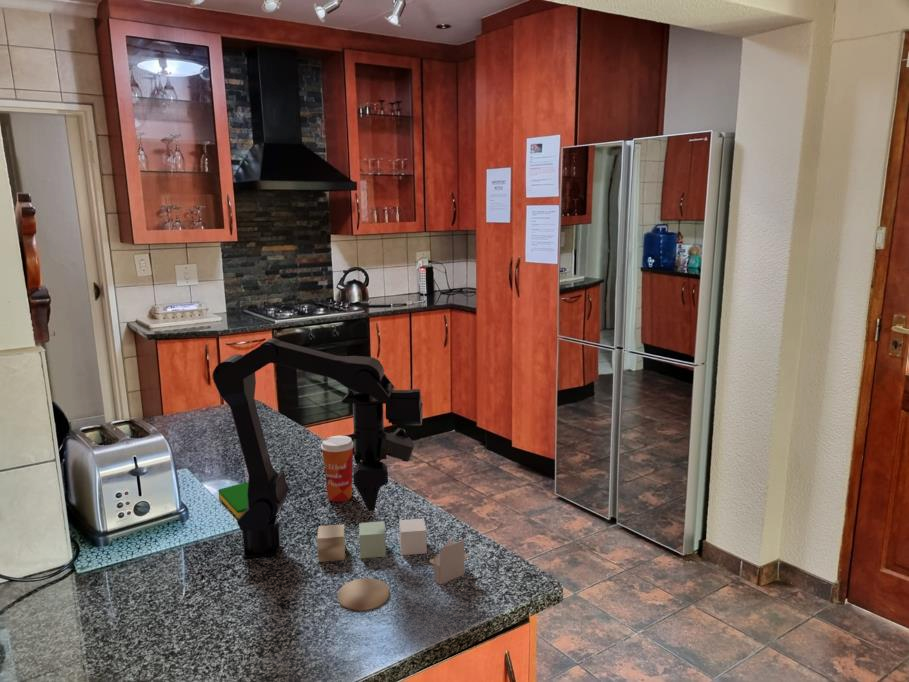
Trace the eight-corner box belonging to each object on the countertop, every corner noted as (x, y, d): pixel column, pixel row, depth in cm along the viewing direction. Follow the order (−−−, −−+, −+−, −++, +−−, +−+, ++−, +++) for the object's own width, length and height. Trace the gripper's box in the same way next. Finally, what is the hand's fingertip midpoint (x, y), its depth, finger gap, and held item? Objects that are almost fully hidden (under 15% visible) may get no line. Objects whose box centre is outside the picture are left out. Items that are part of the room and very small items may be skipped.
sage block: (360, 558, 127) (359, 535, 126) (360, 545, 132) (359, 523, 131) (386, 556, 128) (385, 533, 127) (384, 544, 133) (384, 521, 132)
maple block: (318, 562, 126) (317, 538, 125) (319, 549, 131) (318, 526, 130) (344, 560, 127) (343, 536, 126) (345, 547, 132) (344, 524, 131)
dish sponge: (238, 520, 144) (237, 510, 143) (218, 498, 155) (217, 489, 154) (269, 511, 148) (269, 501, 147) (248, 490, 159) (247, 481, 158)
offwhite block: (401, 555, 129) (400, 532, 128) (399, 542, 133) (399, 520, 132) (426, 553, 129) (426, 530, 128) (424, 540, 134) (423, 518, 133)
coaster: (337, 612, 110) (336, 610, 110) (338, 583, 119) (338, 580, 119) (390, 608, 112) (390, 605, 112) (388, 578, 120) (387, 576, 120)
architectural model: (428, 578, 121) (428, 541, 120) (458, 566, 125) (458, 530, 124) (439, 587, 119) (439, 549, 117) (469, 574, 123) (469, 537, 121)
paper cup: (316, 500, 152) (313, 443, 149) (334, 487, 159) (332, 433, 156) (345, 506, 149) (343, 448, 147) (362, 492, 156) (360, 437, 154)
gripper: (415, 439, 117) (416, 519, 120) (406, 407, 135) (408, 478, 138) (352, 442, 115) (355, 523, 119) (352, 410, 133) (354, 481, 137)
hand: (370, 500), depth 128 cm, fingers open, 9 cm apart
